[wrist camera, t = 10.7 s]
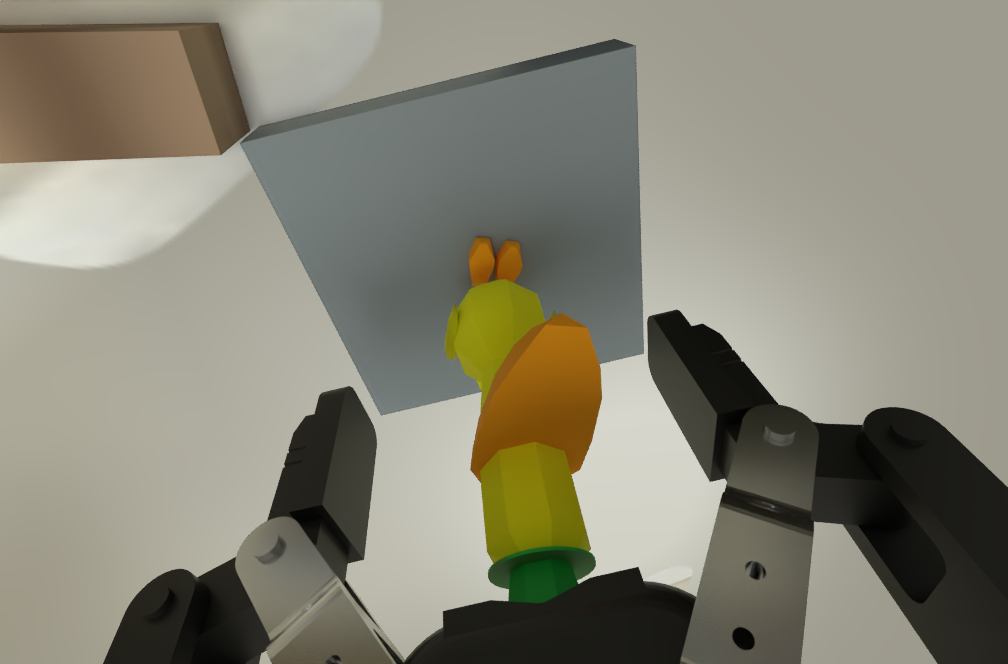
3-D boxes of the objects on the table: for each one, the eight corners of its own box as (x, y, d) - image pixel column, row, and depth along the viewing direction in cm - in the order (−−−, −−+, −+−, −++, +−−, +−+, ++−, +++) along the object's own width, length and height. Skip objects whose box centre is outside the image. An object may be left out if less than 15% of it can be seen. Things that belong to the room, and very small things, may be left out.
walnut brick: (220, 22, 14) (177, 30, 12) (251, 128, 16) (220, 155, 14) (-2, 24, 14) (-94, 34, 11) (56, 135, 15) (-12, 163, 13)
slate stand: (614, 38, 16) (636, 45, 14) (628, 327, 23) (643, 353, 21) (259, 126, 16) (240, 142, 14) (384, 385, 23) (380, 415, 21)
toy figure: (455, 159, 15) (492, 497, 6) (564, 173, 16) (754, 496, 6) (438, 328, 19) (443, 688, 10) (525, 333, 20) (607, 674, 10)
